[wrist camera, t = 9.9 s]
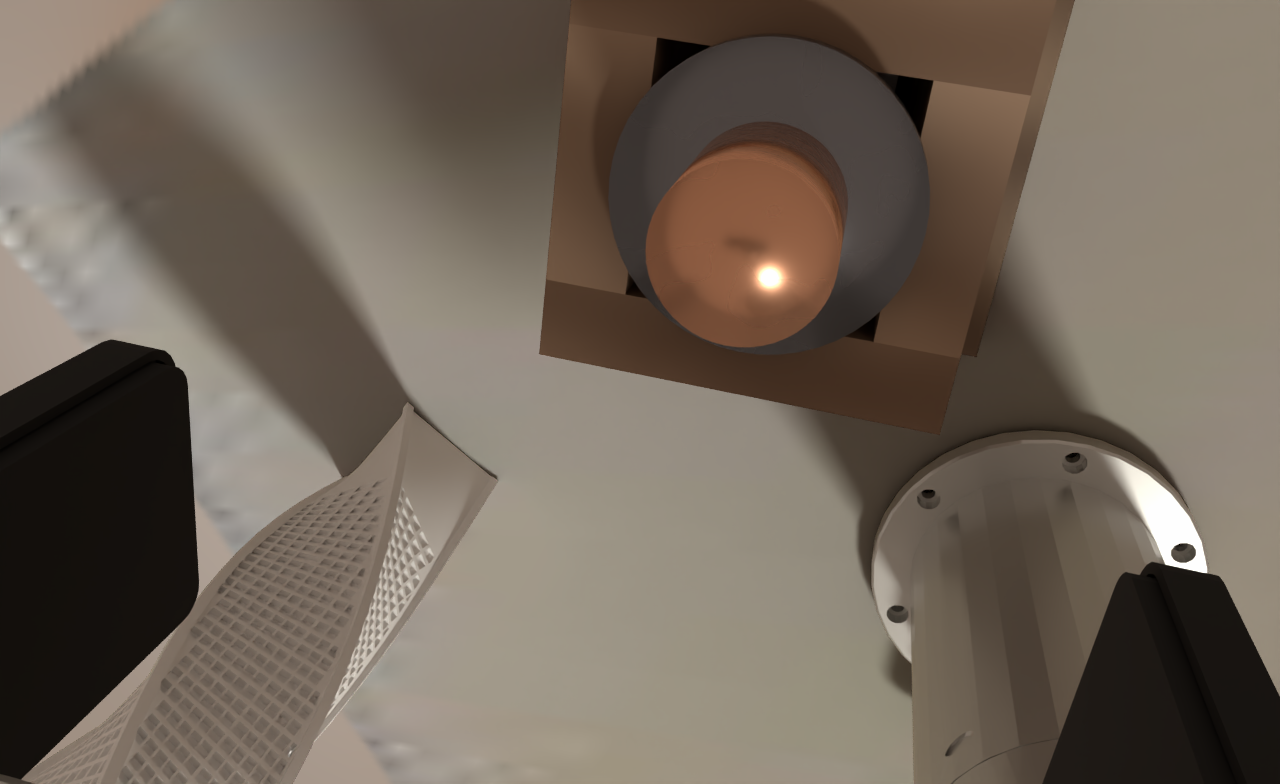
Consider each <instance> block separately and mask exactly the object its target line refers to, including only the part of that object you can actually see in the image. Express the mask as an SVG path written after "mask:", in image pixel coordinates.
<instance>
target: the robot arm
mask: <svg viewBox="0 0 1280 784" xmlns="http://www.w3.org/2000/svg"><path fill="white" fill-rule="evenodd" d="M1070 453H1078V454H1077V456H1075V457H1073V458H1069V457H1066V455H1068V454H1070ZM927 489H932V490H934V491H933V492H932V493H925V492H923V490H927ZM1180 543H1183V544H1181V545H1177V544H1180ZM871 587H872V592H873V597H874V601H875V606H876V611H877V613H878V615H879V618H880V620H881V622H882V624H883V627H884V629H885V631H886V633H887V635H888V636H889V638H890V639H891V641H892V642H893V643H894V645H895V646H896V647H897V649H898V650H899V652H900V653H901V654H902V656H903V657H904V658H906V659H907V660H908V661H909V662H910V663H911V664H912V715H913V770H914V784H1280V696H1279V694H1278V692H1277V690H1276V688H1275V686H1274V684H1273V682H1272V680H1271V678H1270V676H1269V674H1268V672H1267V670H1266V668H1265V666H1264V663H1263V661H1262V659H1261V657H1260V655H1259V653H1258V651H1257V649H1256V647H1255V645H1254V643H1253V641H1252V639H1251V637H1250V635H1249V633H1248V631H1247V629H1246V627H1245V625H1244V623H1243V621H1242V618H1241V616H1240V614H1239V612H1238V610H1237V608H1236V606H1235V604H1234V602H1233V600H1232V598H1231V596H1230V594H1229V592H1228V590H1227V588H1226V586H1225V584H1224V582H1223V581H1222V579H1221V578H1220V577H1219V576H1216V575H1212V574H1209V563H1208V559H1207V554H1206V549H1205V544H1204V540H1203V538H1202V535H1201V533H1200V531H1199V529H1198V526H1197V524H1196V522H1195V519H1194V517H1193V515H1192V514H1191V512H1190V511H1189V509H1188V507H1187V506H1186V504H1185V503H1184V501H1183V499H1182V498H1181V496H1180V495H1179V493H1178V492H1177V491H1176V490H1175V489H1174V488H1173V487H1172V486H1171V485H1170V483H1169V482H1168V481H1167V480H1166V479H1165V478H1164V477H1163V476H1162V475H1161V474H1160V473H1159V472H1158V471H1157V470H1155V469H1154V468H1152V467H1151V466H1149V465H1148V464H1146V463H1145V462H1143V461H1142V460H1140V459H1139V458H1137V457H1136V456H1135V455H1133V454H1132V453H1129V452H1127V451H1125V450H1123V449H1120V448H1118V447H1116V446H1113V445H1111V444H1109V443H1107V442H1104V441H1102V440H1098V439H1094V438H1090V437H1086V436H1082V435H1078V434H1073V433H1069V432H1055V431H1041V430H1032V431H1021V432H1010V433H1002V434H998V435H994V436H990V437H986V438H982V439H979V440H975V441H971V442H969V443H967V444H965V445H962V446H960V447H958V448H956V449H954V450H951V451H949V452H947V453H945V454H943V455H941V456H940V457H938V458H937V459H935V460H934V461H933V462H931V463H930V464H928V465H927V466H925V467H924V468H922V469H921V470H920V471H918V472H917V473H916V474H915V475H914V476H913V477H912V478H911V479H910V480H909V481H908V482H907V483H906V484H905V485H904V486H903V487H902V488H901V489H900V490H899V491H898V493H897V495H896V496H895V498H894V499H893V501H892V502H891V504H890V505H889V507H888V508H887V510H886V512H885V513H884V515H883V518H882V520H881V523H880V526H879V528H878V531H877V534H876V536H875V540H874V547H873V555H872V562H871ZM198 589H199V574H198V557H197V540H196V522H195V504H194V487H193V469H192V451H191V434H190V416H189V399H188V384H187V378H186V376H185V374H184V372H183V371H182V370H181V369H180V368H178V367H175V363H174V361H173V359H172V357H171V355H169V354H168V353H167V352H166V351H164V350H159V349H154V348H150V347H145V346H140V345H136V344H131V343H126V342H122V341H117V340H108V341H104V342H102V343H100V344H98V345H96V346H94V347H92V348H90V349H88V350H87V351H85V352H83V353H81V354H79V355H77V356H75V357H73V358H71V359H69V360H68V361H66V362H64V363H62V364H60V365H58V366H56V367H54V368H52V369H51V370H49V371H47V372H45V373H43V374H41V375H39V376H37V377H35V378H33V379H32V380H30V381H28V382H26V383H24V384H22V385H20V386H18V387H17V388H15V389H13V390H11V391H9V392H7V393H5V394H3V395H2V396H0V784H35V783H31V782H27V781H24V780H21V779H22V778H23V777H24V776H25V775H26V774H27V773H28V772H29V771H30V770H31V769H32V768H33V767H34V766H35V765H36V764H37V763H38V762H39V761H40V760H41V759H42V758H43V757H45V756H46V754H48V753H49V752H50V751H51V750H52V749H53V748H54V747H55V746H56V745H57V744H58V743H59V742H60V741H61V740H62V739H63V738H64V737H65V736H66V735H67V734H68V733H69V732H70V731H71V730H72V729H73V728H74V727H75V726H76V725H77V724H78V723H79V722H80V721H81V720H82V719H83V718H84V717H85V716H86V715H88V714H89V713H90V711H92V710H93V709H94V708H95V707H96V706H97V705H98V704H99V703H100V702H101V701H102V700H103V699H104V698H105V697H106V696H107V695H108V694H109V693H110V692H111V691H112V690H113V689H114V688H115V687H116V686H117V685H118V684H119V683H120V682H121V681H122V680H123V679H124V678H125V677H126V676H127V675H128V674H129V673H130V672H132V670H134V669H135V668H136V666H137V665H139V664H140V663H141V662H142V661H143V660H144V659H145V658H146V657H147V656H148V655H149V654H150V653H151V652H152V651H153V650H154V649H155V648H156V647H157V646H158V645H159V644H160V643H161V642H162V641H163V640H164V639H165V638H166V637H167V636H168V635H169V634H170V633H172V632H173V631H174V630H175V629H176V628H177V627H178V626H179V625H180V624H181V623H182V622H183V621H184V620H185V618H186V617H187V616H188V615H189V613H190V612H191V610H192V608H193V606H194V604H195V601H196V598H197V594H198ZM895 605H900V606H895Z"/></svg>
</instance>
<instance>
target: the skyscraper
mask: <svg viewBox="0 0 1280 784" xmlns="http://www.w3.org/2000/svg"><path fill="white" fill-rule="evenodd" d="M413 410H414V407H413V406H412V405H411V404H409V403H408V402H407V403H406V405H405V406H404V407H403V412H402V416H401V417H400V418H399V419H398V421H397V422H396V423H395V424H394V425H393V427H392V428H391V429H390V430H389V432H388V433H387V434H386V435H385V436H384V438H383V439H382V440H381V441H380V442H379V444H378V445H377V446H376V447H375V448H374V450H373V451H372V452H371V453H370V454H369V455H368V457H367V458H366V459H365V460H364V461H363V462H362V463H361V465H360V466H359V467H358V468H357V469H356V470H355V471H353V472H352V473H351V474H350V475H349V476H345V477H343V478H341V479H339V480H338V481H336V482H334V483H332V484H330V485H328V486H326V487H324V488H323V489H321V490H319V491H317V492H316V493H314V494H312V495H311V496H309V497H307V498H306V499H304V500H302V501H300V502H299V503H297V504H296V505H294V506H293V507H292V508H290V509H289V510H287V511H286V512H284V513H283V514H281V515H280V516H278V517H277V518H276V519H275V520H273V521H272V522H271V523H270V524H268V525H267V526H266V527H265V528H263V529H262V530H261V531H260V532H258V533H257V534H256V535H255V536H254V537H253V538H252V539H251V540H250V541H249V542H248V543H246V544H245V545H244V546H243V547H242V548H241V549H240V550H239V551H238V552H237V553H236V554H235V555H234V556H233V557H232V558H231V559H230V561H229V562H228V563H227V564H226V565H225V566H224V567H223V568H222V569H221V570H220V571H219V573H218V574H217V575H216V576H215V577H214V578H213V580H212V581H211V582H210V583H209V584H208V585H207V587H206V588H205V589H204V590H203V592H202V593H201V594H200V595H199V597H198V598H197V599H196V601H195V604H194V606H193V608H192V610H191V612H190V613H189V615H188V616H187V617H186V618H185V620H184V621H183V622H182V623H181V624H180V625H179V626H178V627H177V628H176V630H175V631H174V633H173V634H172V636H171V637H170V639H169V640H168V642H167V644H166V645H165V647H164V648H163V651H162V652H161V654H160V656H159V657H158V659H157V661H156V663H155V664H154V666H153V668H152V670H151V672H150V673H149V675H148V677H147V678H146V679H145V680H144V681H143V682H142V683H141V684H140V686H139V687H138V688H137V689H136V690H135V691H134V692H133V693H132V695H130V697H129V698H128V699H127V700H126V701H125V702H124V703H123V704H122V705H121V706H120V707H119V708H118V709H117V710H116V711H115V712H114V713H113V714H112V715H111V716H110V717H109V718H108V719H107V720H106V721H105V722H104V723H103V724H101V725H100V726H99V727H97V728H95V729H94V730H92V731H91V732H89V733H87V734H85V735H84V736H82V737H81V738H79V739H78V740H76V741H75V742H73V743H71V744H70V745H68V746H67V747H65V748H64V749H62V750H60V751H59V752H57V753H56V754H54V755H53V756H51V757H50V758H48V759H47V760H45V761H44V762H42V763H40V764H39V765H37V766H36V767H34V768H33V769H31V770H30V771H29V772H28V773H27V774H26V775H25V776H24V777H23V778H22V779H21V780H24V781H27V782H31V783H35V784H293V782H294V780H295V779H296V777H297V775H298V773H299V771H300V769H301V767H302V765H303V763H304V761H305V759H306V757H307V755H308V753H309V751H310V749H311V747H312V745H313V743H314V742H315V741H316V740H317V739H318V737H319V736H320V735H321V734H322V733H323V732H324V730H325V729H326V728H327V727H328V726H329V725H330V723H331V722H332V721H333V720H334V718H335V717H336V716H337V715H338V713H339V712H340V711H341V710H342V708H343V707H344V706H345V705H346V703H347V702H348V701H349V700H350V698H351V697H352V696H353V695H354V693H355V692H356V691H357V690H358V688H359V687H360V686H361V684H362V683H363V682H364V680H365V679H366V678H367V676H368V675H369V674H370V672H371V671H372V670H373V668H374V667H375V666H376V664H377V663H378V662H379V660H380V659H381V658H382V656H383V655H384V654H385V652H386V651H387V650H388V648H389V647H390V645H391V644H392V643H393V641H394V640H395V638H396V637H397V635H398V634H399V633H400V631H401V630H402V628H403V627H404V625H405V624H406V623H407V621H408V620H409V618H410V617H411V615H412V614H413V613H414V611H415V610H416V608H417V607H418V605H419V604H420V602H421V601H422V599H423V598H424V596H425V595H426V593H427V592H428V590H429V589H430V587H431V586H432V584H433V583H434V581H435V580H436V578H437V577H438V575H439V574H440V572H441V571H442V569H443V568H444V566H445V565H446V563H447V562H448V560H449V558H450V557H451V555H452V554H453V552H454V551H455V549H456V547H457V546H458V544H459V543H460V541H461V539H462V538H463V536H464V535H465V533H466V532H467V530H468V528H469V527H470V525H471V524H472V522H473V521H474V519H475V517H476V516H477V514H478V513H479V511H480V510H481V508H482V506H483V505H484V503H485V502H486V500H487V498H488V497H489V495H490V494H491V492H492V490H493V489H494V487H495V486H496V484H497V482H498V480H497V479H495V478H494V477H493V476H492V477H491V476H490V475H489V474H487V473H486V472H485V471H484V470H483V469H482V468H480V467H479V466H478V465H477V464H476V463H474V462H473V461H472V460H471V459H470V458H468V457H467V456H466V455H465V454H464V453H462V452H461V451H460V450H459V449H458V448H457V447H455V446H454V445H453V444H452V443H451V442H449V441H448V440H447V439H446V438H445V437H443V436H442V435H441V434H440V433H439V432H437V431H436V430H435V429H434V428H433V427H432V426H430V425H429V424H428V423H427V422H426V421H424V420H423V419H422V418H421V417H420V416H418V415H417V414H416V413H415V412H414V411H413Z"/></svg>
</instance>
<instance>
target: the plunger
mask: <svg viewBox="0 0 1280 784" xmlns="http://www.w3.org/2000/svg"><path fill="white" fill-rule="evenodd" d="M898 76H899V75H895V74H888V73H882V72H876V71H874V70H873V69H871V68H870V67H869V66H867V65H866V64H865V63H863V62H862V61H861V60H859V59H858V58H856V57H854V56H853V55H851V54H849V53H847V52H845V51H843V50H841V49H840V48H838V47H835V46H832V45H830V44H827V43H824V42H822V41H819V40H815V39H811V38H806V37H802V36H798V35H787V34H775V33H774V34H756V35H749V36H744V37H738V38H733V39H730V40H727V41H724V42H721V43H718V44H715V45H712V46H710V47H708V48H706V49H704V50H702V51H700V52H698V53H696V54H694V55H692V56H691V57H689V58H688V59H686V60H685V61H684V62H682V63H681V64H679V65H678V66H676V67H675V68H673V69H672V70H670V71H669V72H668V73H667V74H665V75H664V76H663V77H662V78H661V79H660V80H659V81H658V82H657V83H655V84H654V85H653V86H652V87H651V89H650V90H649V91H648V92H647V93H646V95H645V96H644V97H643V98H642V99H641V100H640V102H639V103H638V105H637V106H636V108H635V109H634V111H633V112H632V114H631V115H630V117H629V119H628V120H627V122H626V125H625V127H624V129H623V131H622V133H621V135H620V137H619V140H618V143H617V146H616V150H615V153H614V156H613V160H612V166H611V171H610V177H609V196H608V200H609V212H610V220H611V225H612V230H613V234H614V239H615V241H616V244H617V247H618V250H619V253H620V256H621V258H622V260H623V262H624V264H625V266H626V268H627V270H628V272H629V274H630V276H631V277H632V279H633V280H634V282H635V283H636V285H637V286H638V288H639V289H640V291H641V292H642V293H643V294H644V295H645V296H646V298H647V299H648V300H649V301H650V302H651V303H652V305H653V306H654V307H655V308H656V309H658V310H659V311H660V312H661V313H662V314H663V315H664V316H665V317H666V318H667V319H669V320H670V321H672V322H673V323H674V324H676V325H677V326H679V327H680V328H681V329H683V330H684V331H686V332H688V333H690V334H692V335H694V336H695V337H697V338H699V339H701V340H703V341H706V342H708V343H711V344H714V345H716V346H719V347H722V348H726V349H730V350H734V351H737V352H744V353H751V354H763V355H780V354H789V353H798V352H802V351H806V350H810V349H815V348H818V347H821V346H824V345H826V344H829V343H832V342H834V341H837V340H839V339H841V338H843V337H844V336H846V335H848V334H850V333H852V332H854V331H855V330H857V329H858V328H860V327H861V326H863V325H864V324H865V323H867V322H868V321H870V320H871V319H872V318H873V317H874V316H876V315H877V314H878V313H879V312H880V311H881V310H882V309H883V308H884V307H885V306H886V305H887V304H888V303H889V302H890V301H891V299H892V298H893V297H894V296H895V295H896V294H897V292H898V291H899V290H900V288H901V287H902V285H903V284H904V282H905V281H906V279H907V278H908V276H909V274H910V273H911V271H912V269H913V267H914V264H915V262H916V260H917V258H918V256H919V254H920V251H921V247H922V244H923V241H924V238H925V235H926V230H927V224H928V218H929V210H930V186H929V176H928V167H927V160H926V156H925V152H924V148H923V144H922V141H921V138H920V136H919V133H918V131H917V128H916V126H915V123H914V121H913V119H912V117H911V116H910V114H909V112H908V110H907V109H906V107H905V105H904V103H903V102H902V101H901V99H900V98H899V97H898V96H897V94H896V93H895V90H896V85H897V81H898Z"/></svg>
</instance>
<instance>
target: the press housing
mask: <svg viewBox="0 0 1280 784" xmlns="http://www.w3.org/2000/svg"><path fill="white" fill-rule="evenodd" d="M1074 1H1075V0H571V8H570V19H569V30H568V41H567V52H566V64H565V75H564V86H563V97H562V108H561V119H560V130H559V141H558V152H557V164H556V175H555V186H554V197H553V208H552V219H551V230H550V241H549V252H548V263H547V275H546V286H545V297H544V308H543V319H542V330H541V341H540V352H539V354H541V355H546V356H551V357H556V358H561V359H566V360H571V361H576V362H581V363H586V364H591V365H596V366H601V367H605V368H610V369H615V370H620V371H625V372H630V373H635V374H640V375H645V376H650V377H655V378H660V379H665V380H670V381H675V382H680V383H685V384H690V385H695V386H700V387H705V388H710V389H715V390H720V391H724V392H729V393H734V394H739V395H744V396H749V397H754V398H759V399H764V400H769V401H774V402H779V403H784V404H789V405H794V406H799V407H804V408H809V409H814V410H819V411H824V412H829V413H834V414H839V415H843V416H848V417H853V418H858V419H863V420H868V421H873V422H878V423H883V424H888V425H893V426H898V427H903V428H908V429H913V430H918V431H923V432H928V433H933V434H938V435H940V432H941V428H942V424H943V421H944V417H945V413H946V409H947V406H948V402H949V398H950V394H951V391H952V387H953V383H954V380H955V376H956V372H957V368H958V365H959V361H960V357H961V354H963V355H968V356H974V357H977V353H978V350H979V346H980V342H981V339H982V335H983V331H984V328H985V324H986V321H987V317H988V313H989V310H990V306H991V302H992V299H993V295H994V291H995V288H996V284H997V281H998V277H999V273H1000V270H1001V266H1002V262H1003V259H1004V255H1005V252H1006V248H1007V244H1008V241H1009V237H1010V233H1011V230H1012V226H1013V223H1014V219H1015V215H1016V212H1017V208H1018V204H1019V201H1020V197H1021V193H1022V190H1023V186H1024V183H1025V179H1026V175H1027V172H1028V168H1029V164H1030V161H1031V157H1032V154H1033V150H1034V146H1035V143H1036V139H1037V135H1038V132H1039V128H1040V125H1041V121H1042V117H1043V114H1044V110H1045V106H1046V103H1047V99H1048V96H1049V92H1050V88H1051V85H1052V81H1053V77H1054V74H1055V70H1056V66H1057V63H1058V59H1059V56H1060V52H1061V48H1062V45H1063V41H1064V37H1065V34H1066V30H1067V27H1068V23H1069V19H1070V16H1071V12H1072V8H1073V5H1074ZM774 33H775V34H787V35H798V36H802V37H806V38H811V39H815V40H819V41H822V42H824V43H827V44H830V45H832V46H835V47H838V48H840V49H841V50H843V51H845V52H847V53H849V54H851V55H853V56H854V57H856V58H858V59H859V60H861V61H862V62H863V63H865V64H866V65H867V66H869V67H870V68H871V69H873V70H874V71H876V72H882V73H888V74H895V75H899V76H898V81H897V85H896V90H895V93H896V94H897V96H898V97H899V98H900V99H901V101H902V102H903V103H904V105H905V107H906V109H907V110H908V112H909V114H910V116H911V117H912V119H913V121H914V123H915V126H916V128H917V131H918V133H919V136H920V138H921V141H922V144H923V148H924V152H925V156H926V160H927V167H928V176H929V186H930V210H929V218H928V224H927V230H926V235H925V238H924V241H923V244H922V247H921V251H920V254H919V256H918V258H917V260H916V262H915V264H914V267H913V269H912V271H911V273H910V274H909V276H908V278H907V279H906V281H905V282H904V284H903V285H902V287H901V288H900V290H899V291H898V292H897V294H896V295H895V296H894V297H893V298H892V299H891V301H890V302H889V303H888V304H887V305H886V306H885V307H884V308H883V309H882V310H881V311H880V312H879V313H878V314H877V315H876V316H874V317H873V318H872V319H871V320H870V321H868V322H867V323H865V324H864V325H863V326H861V327H860V328H858V329H857V330H855V331H854V332H852V333H850V334H848V335H846V336H844V337H843V338H841V339H839V340H837V341H834V342H832V343H829V344H826V345H824V346H821V347H818V348H815V349H810V350H806V351H802V352H798V353H789V354H780V355H763V354H751V353H744V352H737V351H734V350H730V349H726V348H722V347H719V346H716V345H714V344H711V343H708V342H706V341H703V340H701V339H699V338H697V337H695V336H694V335H692V334H690V333H688V332H686V331H684V330H683V329H681V328H680V327H679V326H677V325H676V324H674V323H673V322H672V321H670V320H669V319H667V318H666V317H665V316H664V315H663V314H662V313H661V312H660V311H659V310H658V309H656V308H655V307H654V306H653V305H652V303H651V302H650V301H649V300H648V299H647V298H646V296H645V295H644V294H643V293H642V292H641V291H640V289H639V288H638V286H637V285H636V283H635V282H634V280H633V279H632V277H631V276H630V274H629V272H628V270H627V268H626V266H625V264H624V262H623V260H622V258H621V256H620V253H619V250H618V247H617V244H616V241H615V239H614V234H613V230H612V225H611V220H610V212H609V200H608V196H609V177H610V171H611V166H612V160H613V156H614V153H615V150H616V146H617V143H618V140H619V137H620V135H621V133H622V131H623V129H624V127H625V125H626V122H627V120H628V119H629V117H630V115H631V114H632V112H633V111H634V109H635V108H636V106H637V105H638V103H639V102H640V100H641V99H642V98H643V97H644V96H645V95H646V93H647V92H648V91H649V90H650V89H651V87H652V86H653V85H654V84H655V83H657V82H658V81H659V80H660V79H661V78H662V77H663V76H664V75H665V74H667V73H668V72H669V71H670V70H672V69H673V68H675V67H676V66H678V65H679V64H681V63H682V62H684V61H685V60H686V59H688V58H689V57H691V56H692V55H694V54H696V53H698V52H700V51H702V50H704V49H706V48H708V47H710V46H712V45H715V44H718V43H721V42H724V41H727V40H730V39H733V38H738V37H744V36H749V35H756V34H774Z"/></svg>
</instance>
